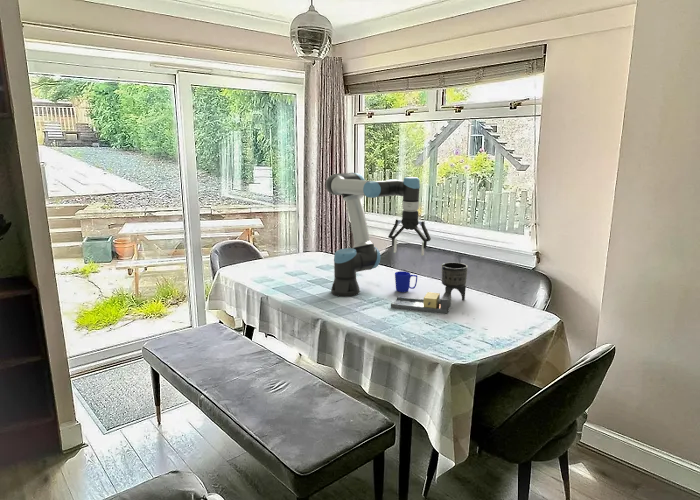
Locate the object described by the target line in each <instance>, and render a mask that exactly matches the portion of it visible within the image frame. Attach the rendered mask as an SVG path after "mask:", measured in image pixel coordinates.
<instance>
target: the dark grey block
mask: <svg viewBox="0 0 700 500" xmlns="http://www.w3.org/2000/svg"><path fill="white" fill-rule="evenodd" d="M440 299H441V309H442V311H443V310H445V311H446V310H447V311H448V309H449V307H450V305H452V292H451V293H449V292H445V291H444V293H443V295H442V297H440ZM450 308H451V307H450ZM449 310H450V309H449ZM440 311H441V310H440ZM442 311H441V312H442ZM448 312H449V311H448Z"/></svg>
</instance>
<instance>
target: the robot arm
mask: <svg viewBox="0 0 700 500" xmlns="http://www.w3.org/2000/svg"><path fill="white" fill-rule="evenodd" d="M325 188H326V189H325V190H327V192H328V193H329V194H330V195H333V196H341V197H342V200H343V201H344V202H346V207H347V212H348V216H349V217H348V218H349V221H350V227H351V232H352V237H353V242H354V245H353V247H346V248H340V249H338V250H336V251H335V253H334V255H333V257H334V258H333V262H334V265H333V267H334V273H333V274H334V275H333V276H334V279H333V283H332V286H331V289H330V290H331V292H330V293H331V294H332V295H333V296H336V297H345V298H347V297H349V298H350V297H354V296H358V295H359V294H360V285H359V282H358V279H357V272H363V271H371V270H372V269H376V268H377V267H379V265H380V262H381V252H380V250H379V249H378V247H376V246H374V243H373V242H372V241H371V238H370V235H369V234H370V233H369V229H368V224H367V219H366V213H365V209H364V204H363V197H366V198H371V199H372V198H373V199H375V198H382V197H393V196H400V197H402V212H401V215H402V216H401V219H399V218H396V219H395V221H394V224H393V227H392V229H391V231H390V232H389V234H388V236H387V237H388V239H391V246H392V247H393V253H394V254H396V253H397V250H398V249H397V245H398V243H397V242H398V238H397V237H398V236H399V235H400V234H401V233H402V232H403V231H404V230H411V231H413V230H414V232H416V233H417V235H418V236H419V237H420V239H421V240H422V241H421V254H420V255H421V256H424V255H425V250H426V249H427V243H428V242H430V241H431V240H432V239H431V235H430V234H429V232H428V230H427V227H426V223H425V220H420V221H419V209H420V208H419V205H420V190H421V189H420V188H421V183H420V178H419V177H416V176H404V178H403V180H402V179H396V178H392V179H387V180H368V179H367V180H366V179H365V178H364V176H363V175H361V173H359V172H346V173H344V172H343V173H334V174H332V175H331V174H330V176H328V177H327V179H326V181H325ZM399 224H401V225H402V226H401V227H400V228H399V230H398V231H397V232H396V229H397V228H398V226H399ZM418 225H419V226H420V227H421V229H422V231H423V232H422V231H421V230H420V228H419V227H418ZM395 232H396V233H395ZM394 233H395V234H394Z"/></svg>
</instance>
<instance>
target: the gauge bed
mask: <svg viewBox="0 0 700 500" xmlns="http://www.w3.org/2000/svg"><path fill="white" fill-rule="evenodd" d="M423 304H424V298H415V297H405V296H404V297H403V296H396V299H395V301H394V302H393V303H390V309H396V310H404V311H413V312H419V313H421V312H423V313H429V314H430V313H431V314H439V315H440V314H441V315H448V313H449V311H450V308H451V307H452V306H451V305H452V304H451V305H450V307H449V309H448V311H447V310H446V311H445V310H443V311H442V309H441V303H440V304H439V305H438V307H437V308H429V307H423ZM440 310H441V311H442V312H441V311H440Z"/></svg>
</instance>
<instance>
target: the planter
mask: <svg viewBox="0 0 700 500" xmlns="http://www.w3.org/2000/svg"><path fill="white" fill-rule="evenodd" d="M468 268H469V267H468V265H467V264H465V263H461V262H453V261H451V262H445V263H442V264H441V284H442V286H445V289H444V290H445V291H444V293H445V292H449V293H451V294H452V291H453V290H454V289H455V290H457V292H459V293H460V295H461V301H465V299H466V289H467V288H466V287H467V279H468V278H467V277H468Z"/></svg>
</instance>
